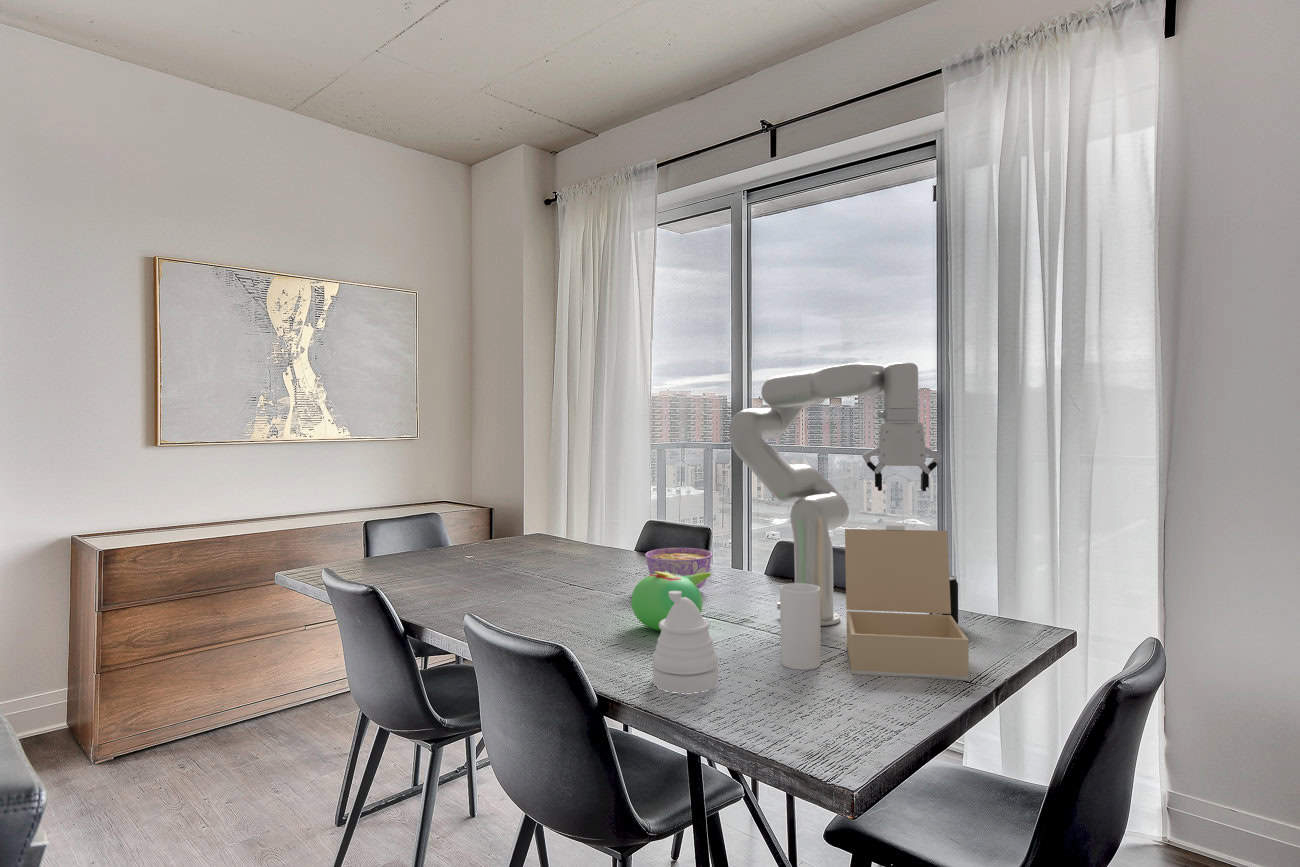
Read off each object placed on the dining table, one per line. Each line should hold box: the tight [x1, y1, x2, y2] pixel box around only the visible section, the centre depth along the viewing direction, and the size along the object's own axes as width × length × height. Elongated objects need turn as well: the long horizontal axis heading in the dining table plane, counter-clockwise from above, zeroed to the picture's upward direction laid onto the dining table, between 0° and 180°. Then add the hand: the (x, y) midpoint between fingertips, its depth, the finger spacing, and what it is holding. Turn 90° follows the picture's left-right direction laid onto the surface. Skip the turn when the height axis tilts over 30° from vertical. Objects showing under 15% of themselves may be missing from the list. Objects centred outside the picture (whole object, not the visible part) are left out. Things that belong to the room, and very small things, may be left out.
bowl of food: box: [644, 547, 713, 590], centre depth 219 cm, size 20×20×12 cm
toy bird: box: [630, 571, 712, 632], centre depth 181 cm, size 18×17×15 cm
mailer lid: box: [844, 525, 951, 614], centre depth 165 cm, size 22×19×1 cm
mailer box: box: [846, 610, 970, 682], centre depth 154 cm, size 22×18×8 cm
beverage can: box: [928, 574, 959, 625], centre depth 181 cm, size 7×7×12 cm
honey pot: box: [652, 591, 719, 693], centre depth 145 cm, size 13×13×18 cm
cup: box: [779, 582, 822, 671], centre depth 155 cm, size 8×8×16 cm
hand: (901, 490), depth 171 cm, fingers open, 9 cm apart
